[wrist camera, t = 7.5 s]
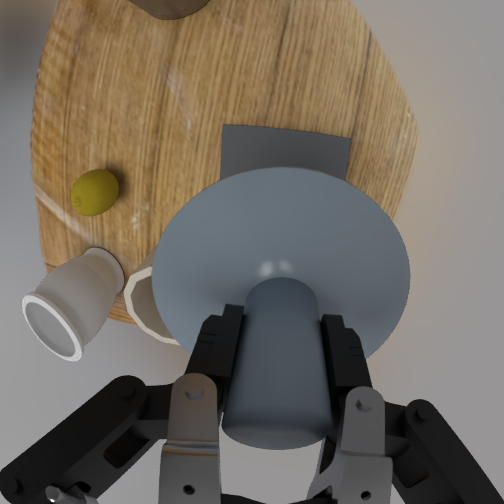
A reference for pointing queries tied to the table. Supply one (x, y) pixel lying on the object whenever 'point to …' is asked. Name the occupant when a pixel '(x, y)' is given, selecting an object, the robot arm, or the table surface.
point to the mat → (281, 150)
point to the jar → (74, 302)
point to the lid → (281, 289)
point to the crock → (146, 301)
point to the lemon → (94, 192)
